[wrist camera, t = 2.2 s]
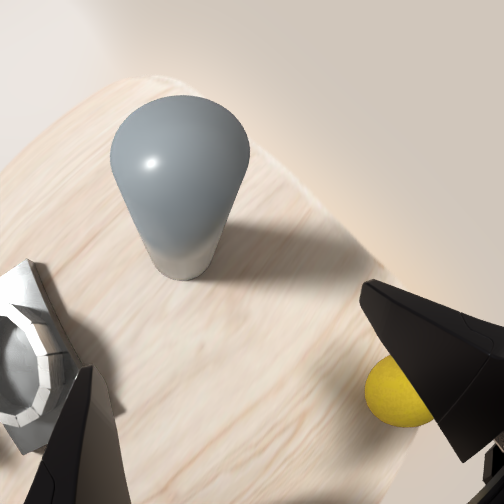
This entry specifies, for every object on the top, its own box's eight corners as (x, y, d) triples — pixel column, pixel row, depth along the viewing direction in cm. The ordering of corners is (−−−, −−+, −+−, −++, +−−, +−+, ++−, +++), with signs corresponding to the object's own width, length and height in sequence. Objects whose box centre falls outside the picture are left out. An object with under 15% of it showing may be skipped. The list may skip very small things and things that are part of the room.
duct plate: (110, 409, 18) (97, 423, 14) (29, 450, 15) (8, 466, 12) (33, 261, 19) (10, 249, 15) (-38, 315, 16) (-64, 311, 13)
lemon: (395, 341, 23) (466, 339, 16) (404, 399, 22) (472, 413, 15) (340, 362, 22) (407, 372, 14) (352, 425, 21) (415, 453, 13)
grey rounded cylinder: (225, 259, 22) (276, 172, 10) (170, 292, 21) (147, 241, 8) (193, 207, 22) (207, 80, 10) (139, 237, 21) (91, 129, 9)
